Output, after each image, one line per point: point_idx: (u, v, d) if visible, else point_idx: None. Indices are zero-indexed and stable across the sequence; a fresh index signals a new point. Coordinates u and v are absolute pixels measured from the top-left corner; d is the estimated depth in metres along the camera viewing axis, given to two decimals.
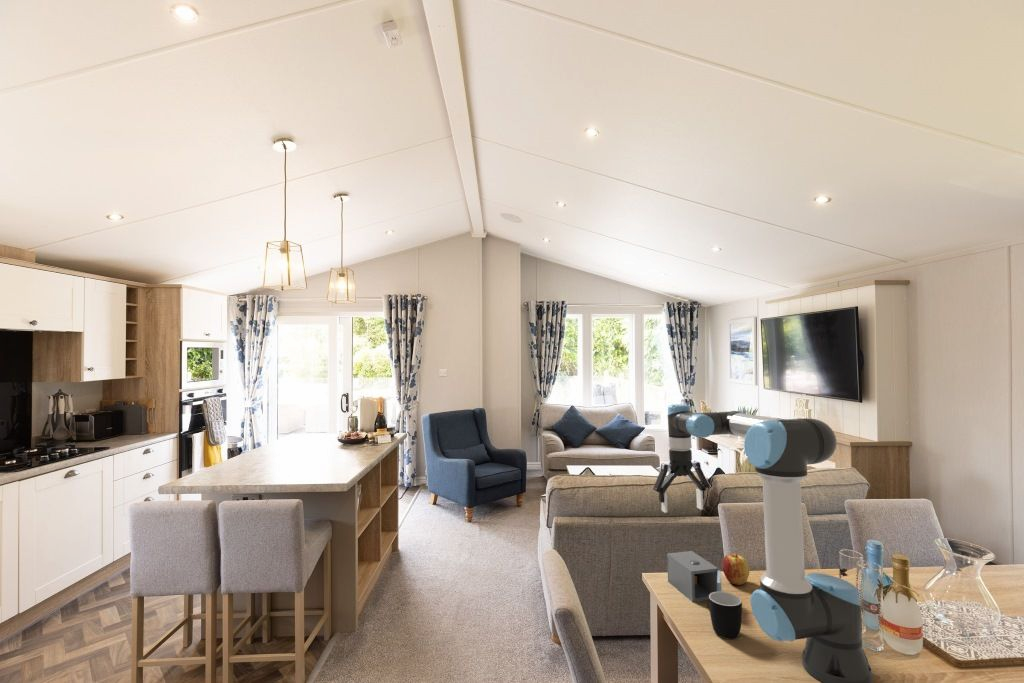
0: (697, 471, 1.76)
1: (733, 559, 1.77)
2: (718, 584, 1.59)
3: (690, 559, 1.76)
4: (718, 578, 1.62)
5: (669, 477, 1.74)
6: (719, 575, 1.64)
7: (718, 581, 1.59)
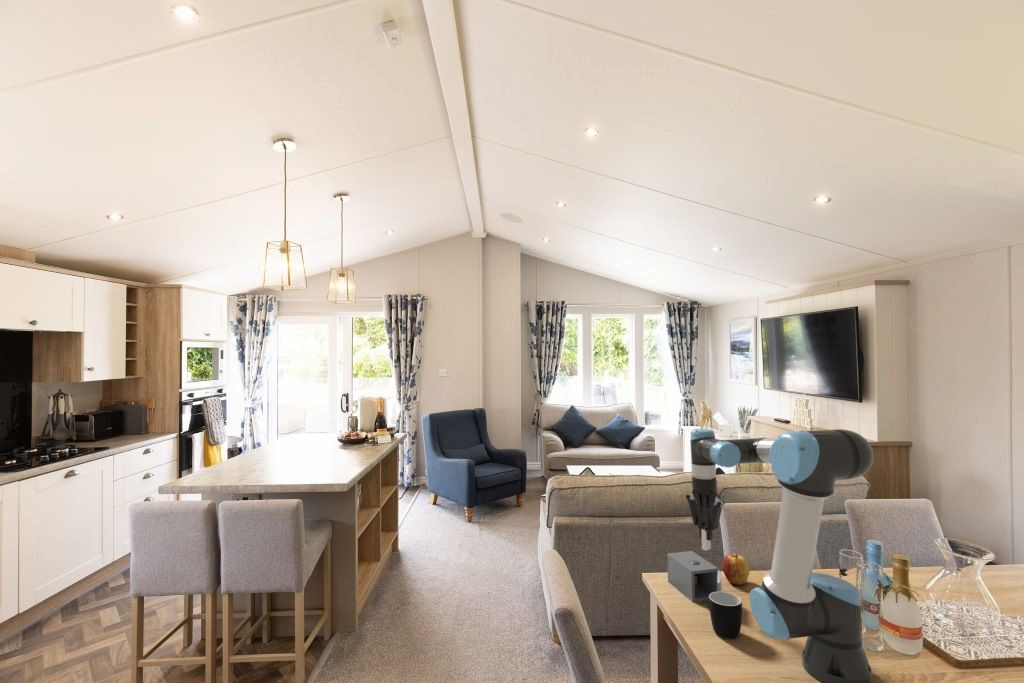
0: None
1: (733, 559, 1.77)
2: (718, 584, 1.59)
3: (690, 559, 1.76)
4: (718, 578, 1.62)
5: None
6: (719, 575, 1.64)
7: (718, 581, 1.59)
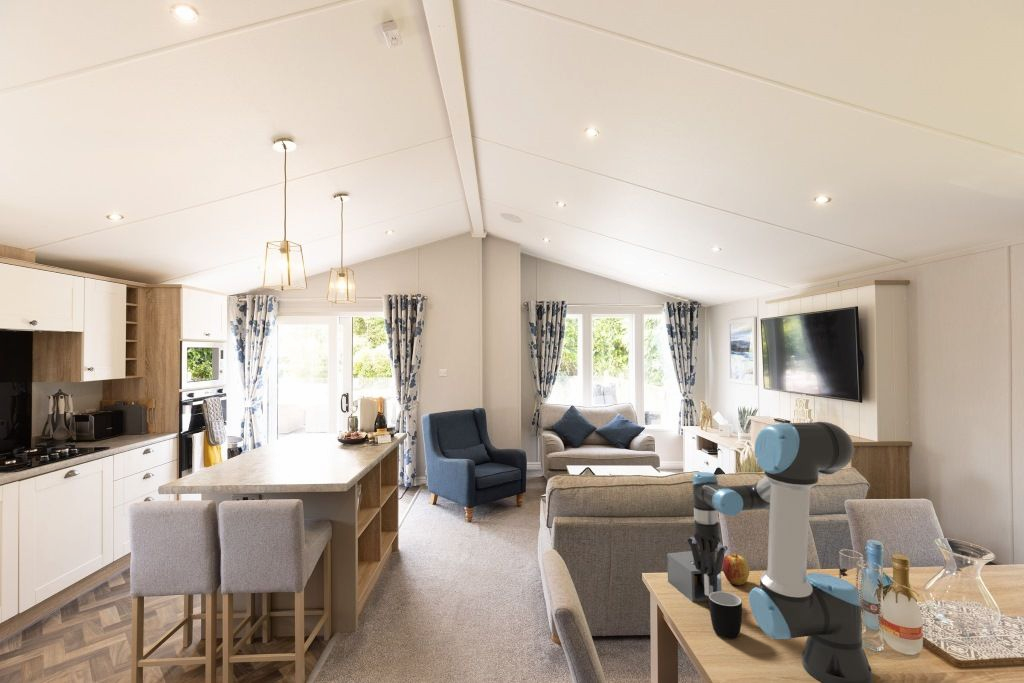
0: None
1: (733, 559, 1.77)
2: (718, 584, 1.59)
3: (690, 559, 1.76)
4: (718, 578, 1.62)
5: None
6: (719, 575, 1.64)
7: (718, 581, 1.59)
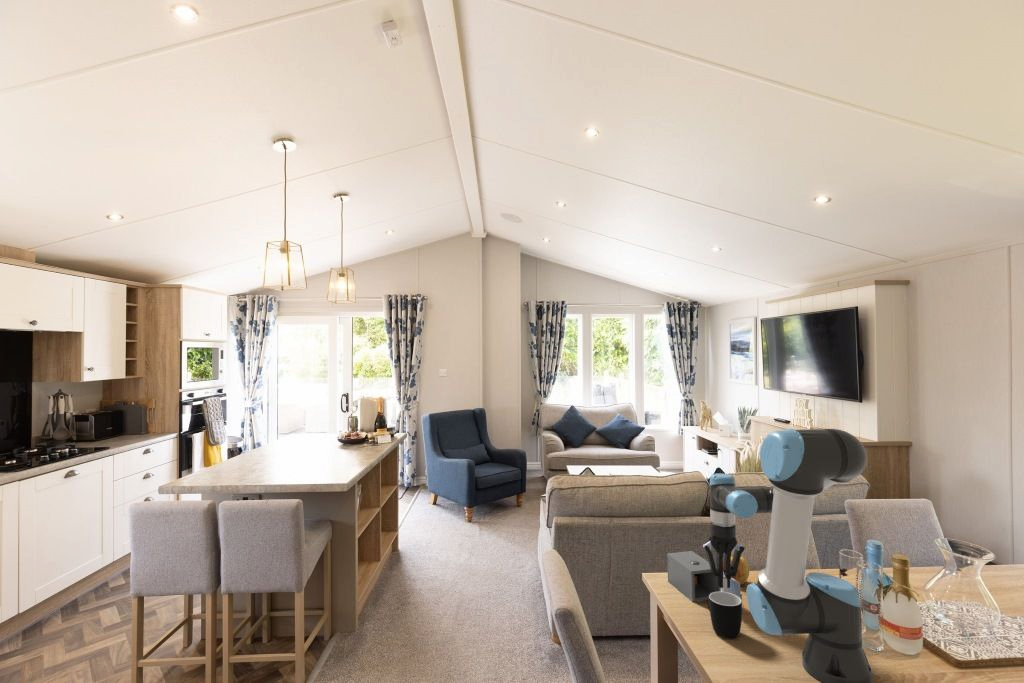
0: (735, 554, 1.60)
1: None
2: (738, 584, 1.58)
3: (690, 559, 1.76)
4: (731, 578, 1.61)
5: (718, 558, 1.60)
6: None
7: (736, 581, 1.59)
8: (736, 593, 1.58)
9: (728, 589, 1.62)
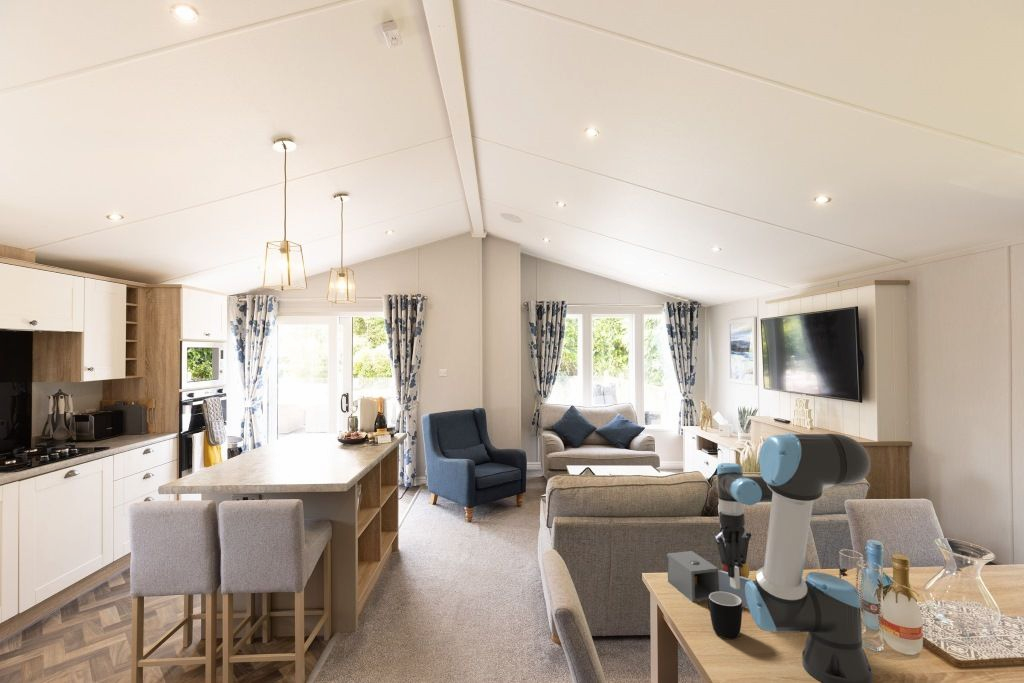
0: (743, 541, 1.62)
1: None
2: None
3: (690, 559, 1.76)
4: None
5: (729, 548, 1.60)
6: None
7: (746, 578, 1.61)
8: None
9: None
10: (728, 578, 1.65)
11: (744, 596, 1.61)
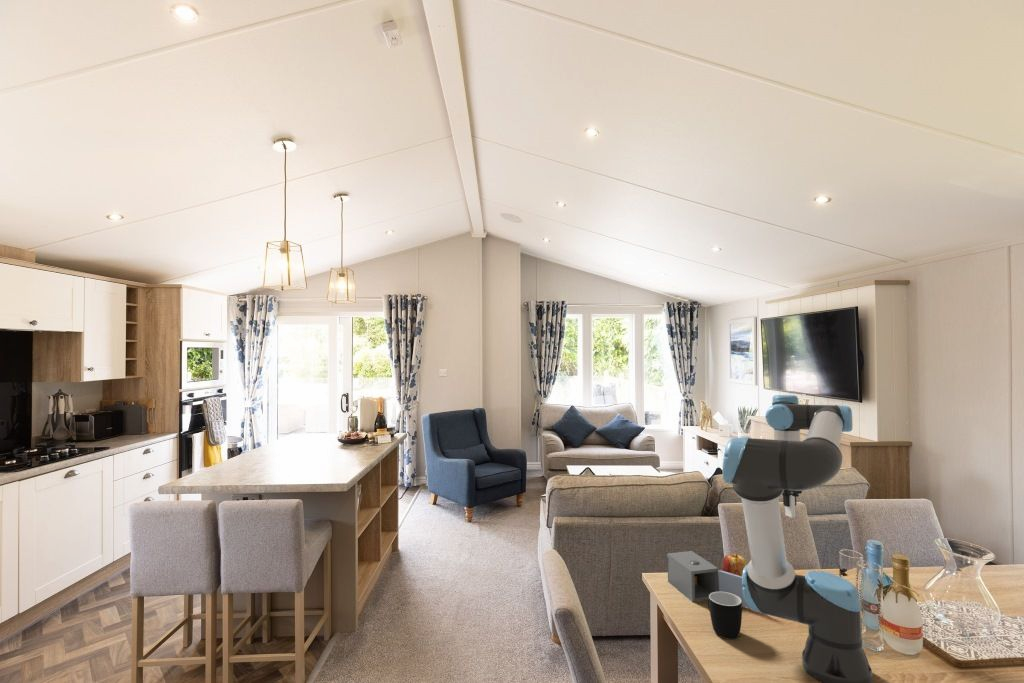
0: None
1: (733, 559, 1.77)
2: None
3: (690, 559, 1.76)
4: (739, 576, 1.63)
5: None
6: (731, 574, 1.65)
7: None
8: None
9: (735, 587, 1.63)
10: (728, 578, 1.65)
11: None
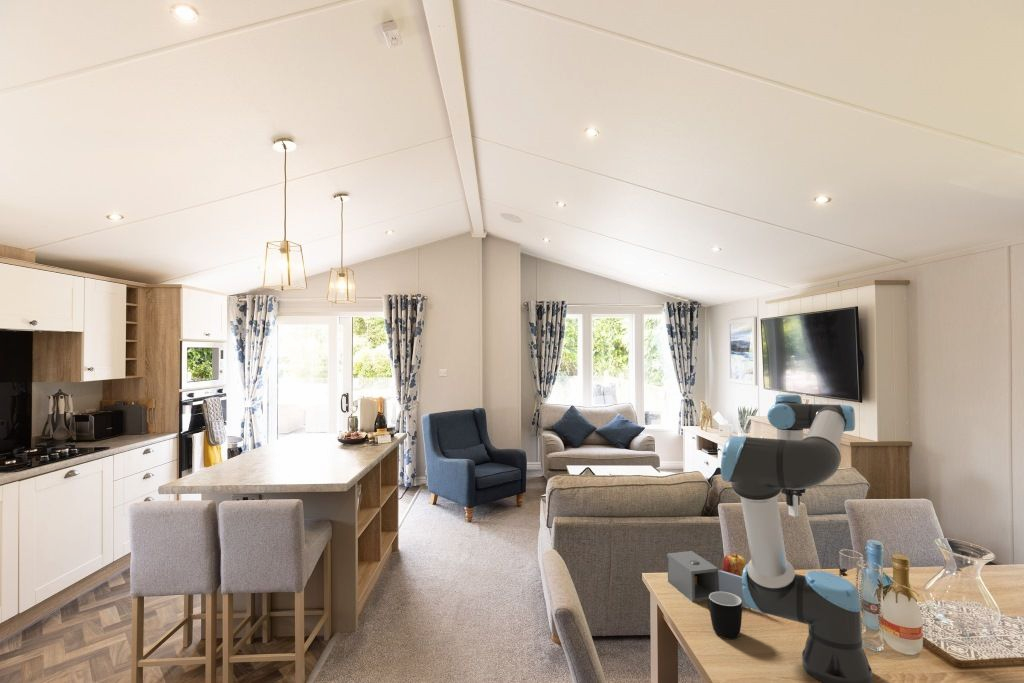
0: None
1: (733, 559, 1.77)
2: None
3: (690, 559, 1.76)
4: (739, 576, 1.63)
5: None
6: (731, 574, 1.65)
7: None
8: None
9: (735, 587, 1.63)
10: (728, 578, 1.65)
11: None
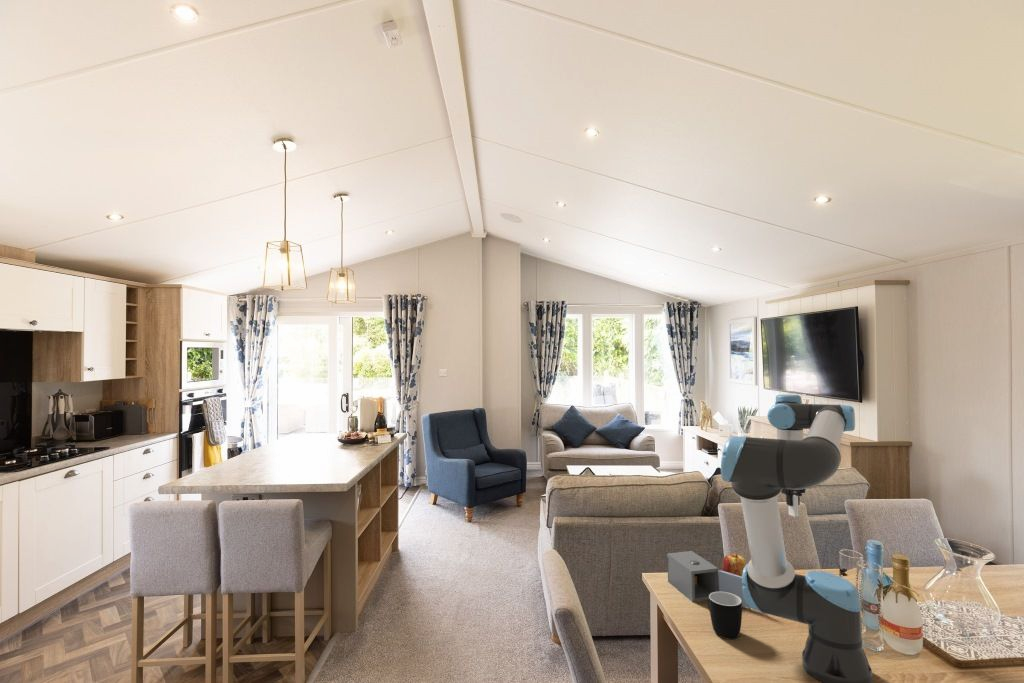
0: None
1: (733, 559, 1.77)
2: None
3: (690, 559, 1.76)
4: (739, 576, 1.63)
5: None
6: (731, 574, 1.65)
7: None
8: None
9: (735, 587, 1.63)
10: (728, 578, 1.65)
11: None
